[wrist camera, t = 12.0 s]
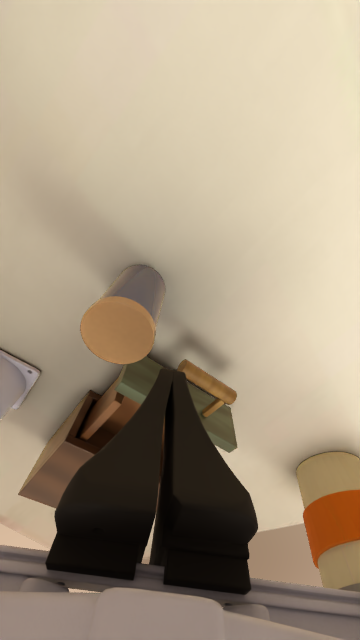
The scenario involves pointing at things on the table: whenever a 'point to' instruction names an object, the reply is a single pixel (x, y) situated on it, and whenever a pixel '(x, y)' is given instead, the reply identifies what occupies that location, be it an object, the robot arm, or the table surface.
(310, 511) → the reusable coffee cup
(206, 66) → the table surface
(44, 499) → the cabinet
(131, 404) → the drawer
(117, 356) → the jar
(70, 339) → the table surface
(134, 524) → the robot arm
